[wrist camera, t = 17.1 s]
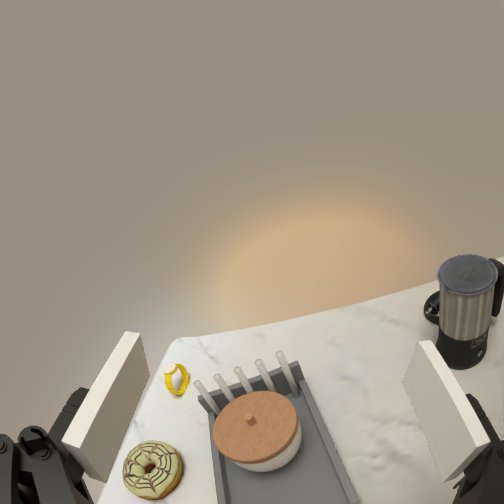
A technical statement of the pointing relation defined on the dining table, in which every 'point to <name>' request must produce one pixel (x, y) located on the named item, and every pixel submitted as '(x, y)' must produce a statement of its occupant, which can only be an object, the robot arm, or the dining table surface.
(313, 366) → the dining table surface
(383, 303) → the dining table surface
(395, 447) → the dining table surface
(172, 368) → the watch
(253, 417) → the lidded jar
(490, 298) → the milk frother
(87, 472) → the robot arm
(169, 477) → the decorated donut
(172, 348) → the dining table surface
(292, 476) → the dish rack
